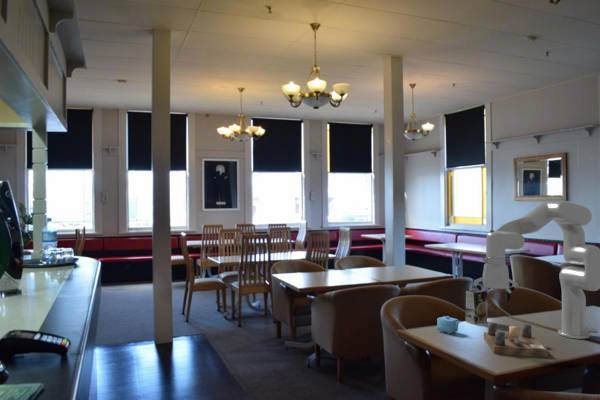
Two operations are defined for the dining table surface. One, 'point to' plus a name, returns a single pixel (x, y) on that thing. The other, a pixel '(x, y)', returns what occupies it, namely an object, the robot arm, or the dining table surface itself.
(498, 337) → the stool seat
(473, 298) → the coffee box
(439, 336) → the dining table surface
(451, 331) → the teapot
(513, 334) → the hinged leg
